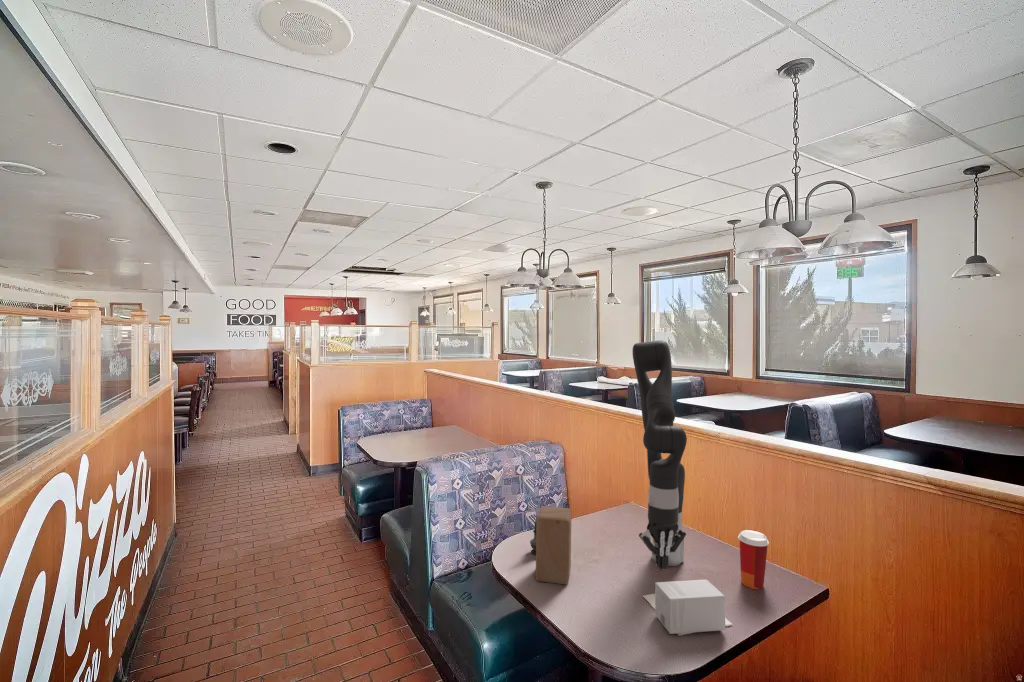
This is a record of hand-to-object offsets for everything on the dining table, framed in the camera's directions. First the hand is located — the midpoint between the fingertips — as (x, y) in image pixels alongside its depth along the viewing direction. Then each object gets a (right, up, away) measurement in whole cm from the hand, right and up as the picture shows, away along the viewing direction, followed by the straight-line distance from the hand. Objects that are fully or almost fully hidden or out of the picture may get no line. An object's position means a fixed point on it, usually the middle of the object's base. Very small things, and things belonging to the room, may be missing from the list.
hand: (661, 567), depth 120 cm
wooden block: (-26, -14, +24) cm, 38 cm away
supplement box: (0, -10, 0) cm, 10 cm away
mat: (+9, -15, +7) cm, 18 cm away
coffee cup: (+34, -15, +20) cm, 42 cm away
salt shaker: (-30, -14, +38) cm, 50 cm away
